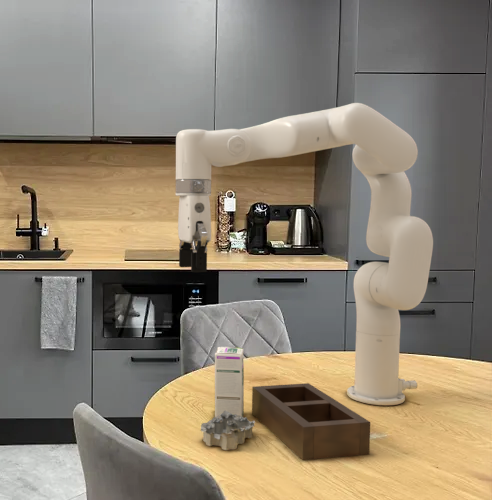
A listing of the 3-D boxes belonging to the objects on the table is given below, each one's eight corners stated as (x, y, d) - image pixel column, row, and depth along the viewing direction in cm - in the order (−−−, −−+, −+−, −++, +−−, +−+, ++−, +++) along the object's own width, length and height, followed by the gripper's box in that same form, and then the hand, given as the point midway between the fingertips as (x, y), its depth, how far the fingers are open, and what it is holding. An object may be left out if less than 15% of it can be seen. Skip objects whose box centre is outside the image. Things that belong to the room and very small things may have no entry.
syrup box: (242, 423, 127) (243, 353, 126) (213, 420, 128) (214, 352, 127) (243, 413, 132) (244, 347, 131) (216, 411, 134) (216, 345, 132)
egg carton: (231, 453, 112) (231, 431, 111) (196, 443, 116) (196, 422, 116) (258, 435, 120) (259, 415, 120) (225, 426, 125) (225, 407, 124)
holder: (307, 410, 135) (308, 383, 134) (369, 454, 112) (370, 422, 111) (251, 413, 132) (252, 386, 132) (302, 460, 109) (303, 427, 108)
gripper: (223, 188, 123) (222, 274, 124) (198, 189, 140) (197, 265, 141) (187, 188, 121) (186, 274, 123) (166, 189, 138) (165, 265, 140)
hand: (192, 269), depth 132 cm, fingers open, 9 cm apart
